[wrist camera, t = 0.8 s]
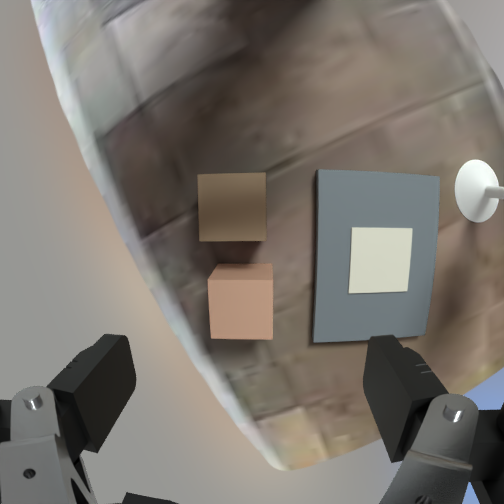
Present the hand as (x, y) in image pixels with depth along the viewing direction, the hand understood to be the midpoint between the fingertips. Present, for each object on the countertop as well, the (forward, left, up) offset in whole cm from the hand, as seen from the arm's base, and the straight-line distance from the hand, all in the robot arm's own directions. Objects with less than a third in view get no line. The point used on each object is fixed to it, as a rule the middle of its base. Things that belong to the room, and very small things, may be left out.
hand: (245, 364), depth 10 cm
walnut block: (-4, -2, -20) cm, 21 cm away
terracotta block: (+4, -1, -20) cm, 21 cm away
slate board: (+1, +11, -20) cm, 23 cm away
